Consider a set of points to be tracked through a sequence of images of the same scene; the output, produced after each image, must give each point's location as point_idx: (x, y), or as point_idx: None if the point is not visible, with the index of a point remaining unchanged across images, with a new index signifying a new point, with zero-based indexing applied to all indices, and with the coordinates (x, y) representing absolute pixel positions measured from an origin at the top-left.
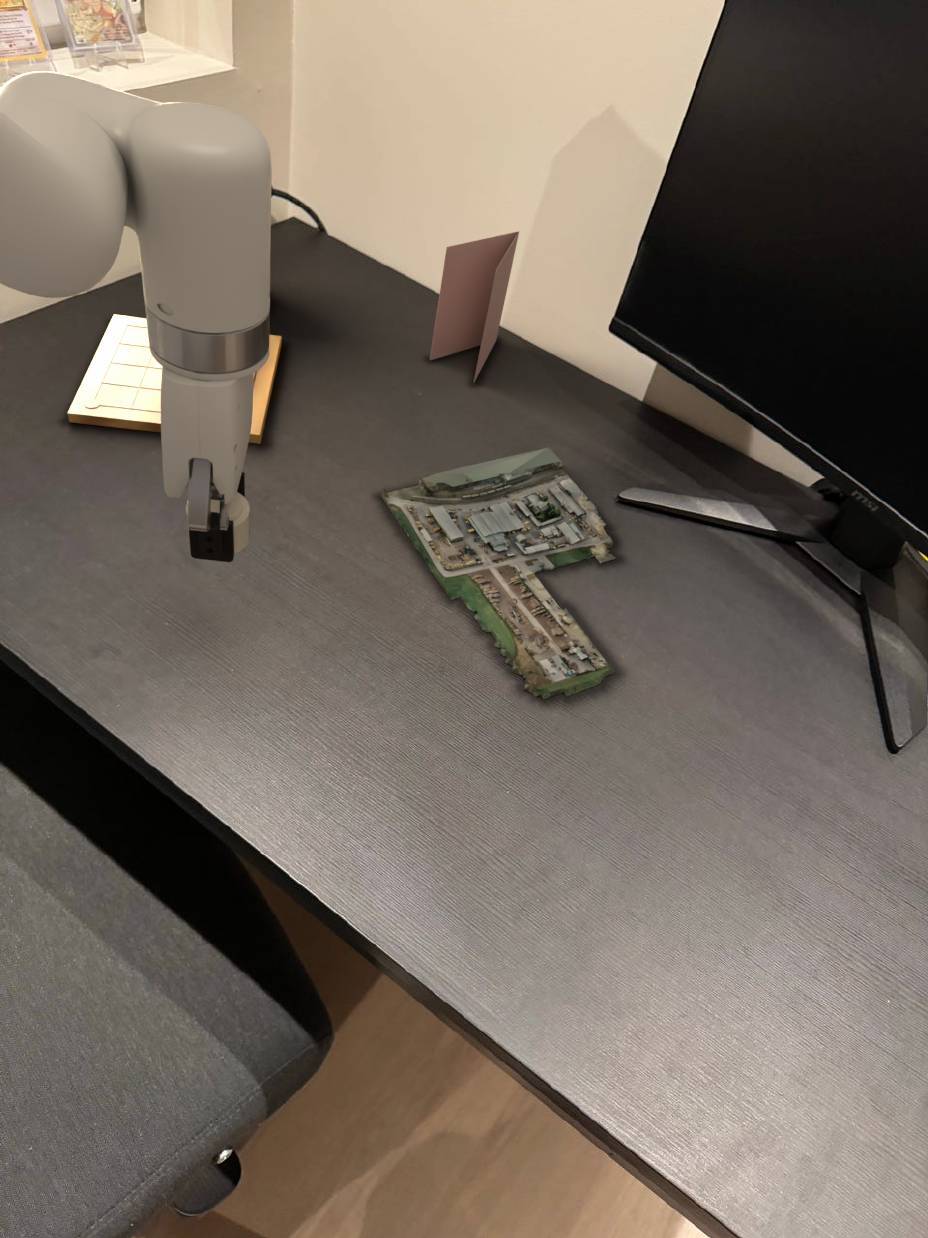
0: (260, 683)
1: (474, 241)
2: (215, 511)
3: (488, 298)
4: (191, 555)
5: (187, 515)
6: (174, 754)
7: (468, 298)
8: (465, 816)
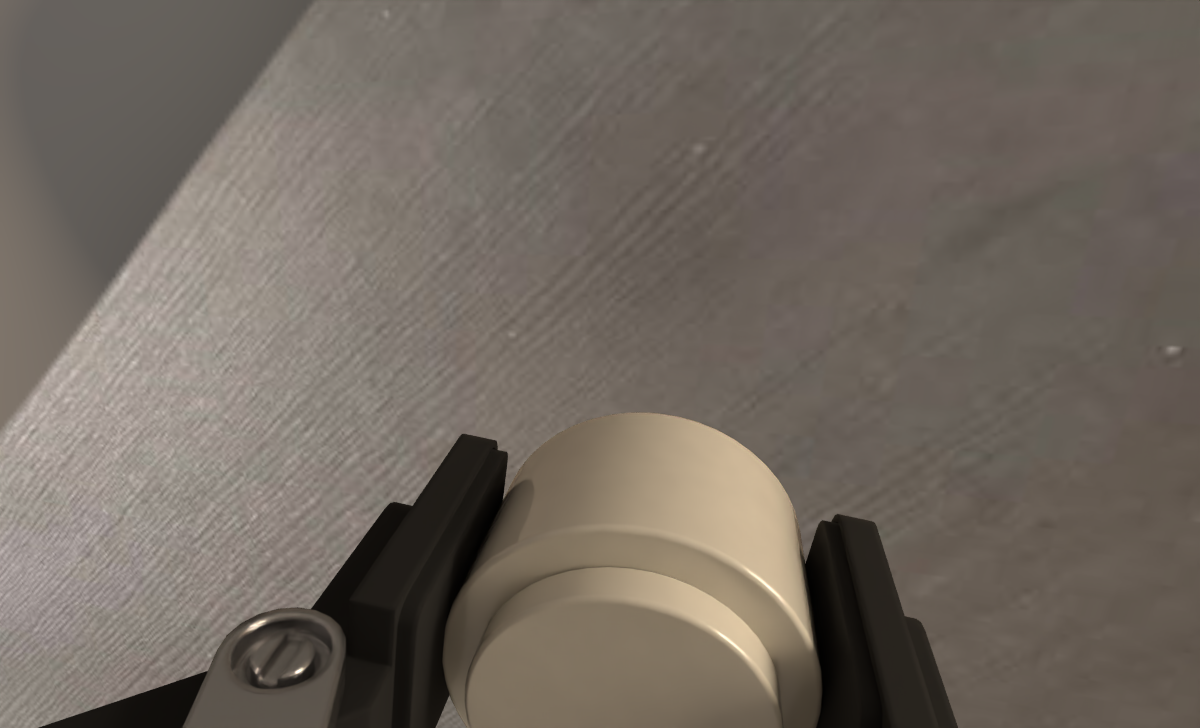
0: (467, 399)
1: None
2: (527, 706)
3: None
4: (464, 435)
5: (552, 529)
6: (244, 180)
7: None
8: None
